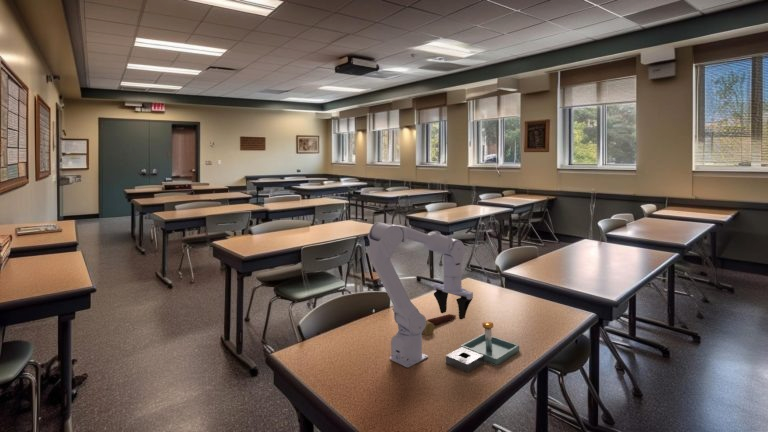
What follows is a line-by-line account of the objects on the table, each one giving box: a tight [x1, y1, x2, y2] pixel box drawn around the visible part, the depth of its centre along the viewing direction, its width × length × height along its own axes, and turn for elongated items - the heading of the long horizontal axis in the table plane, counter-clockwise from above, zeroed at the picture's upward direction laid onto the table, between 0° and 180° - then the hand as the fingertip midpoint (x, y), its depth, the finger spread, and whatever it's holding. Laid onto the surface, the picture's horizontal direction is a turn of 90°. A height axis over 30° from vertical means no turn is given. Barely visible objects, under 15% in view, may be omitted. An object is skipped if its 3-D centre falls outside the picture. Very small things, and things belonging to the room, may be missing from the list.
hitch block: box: [445, 347, 485, 373], centre depth 124 cm, size 8×8×2 cm
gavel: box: [422, 313, 457, 336], centre depth 155 cm, size 21×5×10 cm
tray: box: [459, 332, 520, 367], centre depth 132 cm, size 13×13×2 cm
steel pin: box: [481, 321, 494, 352], centre depth 131 cm, size 3×3×9 cm
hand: (452, 315), depth 135 cm, fingers open, 7 cm apart
